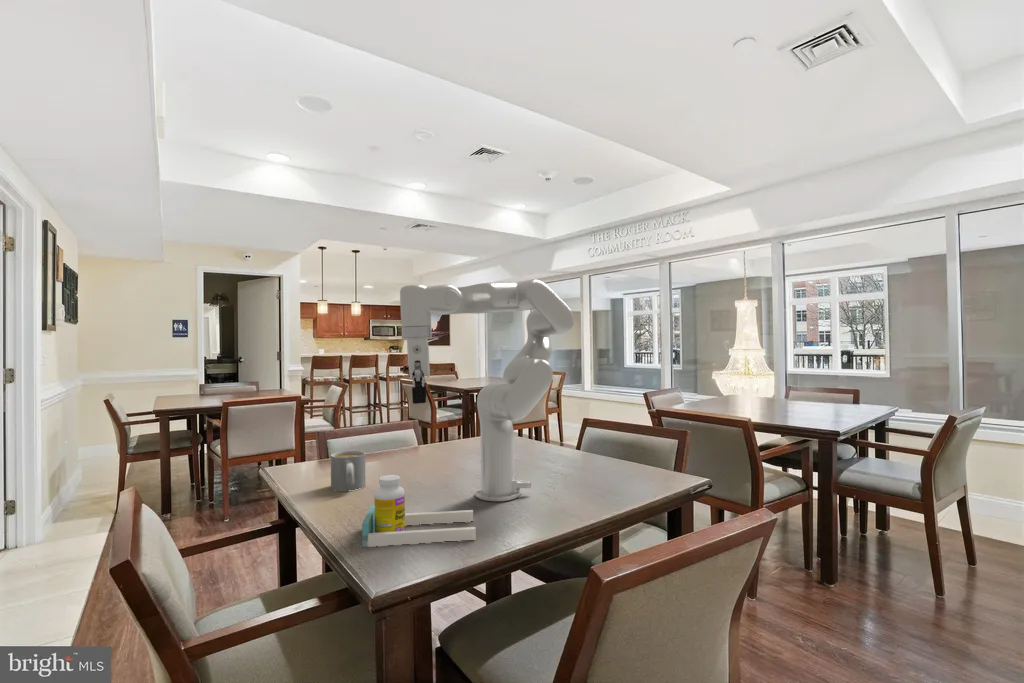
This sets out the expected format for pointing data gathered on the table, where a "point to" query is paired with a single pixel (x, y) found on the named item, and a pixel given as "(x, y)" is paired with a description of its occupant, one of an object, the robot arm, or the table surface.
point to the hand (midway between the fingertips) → (419, 400)
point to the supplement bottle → (389, 505)
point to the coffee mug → (347, 470)
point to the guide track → (419, 535)
